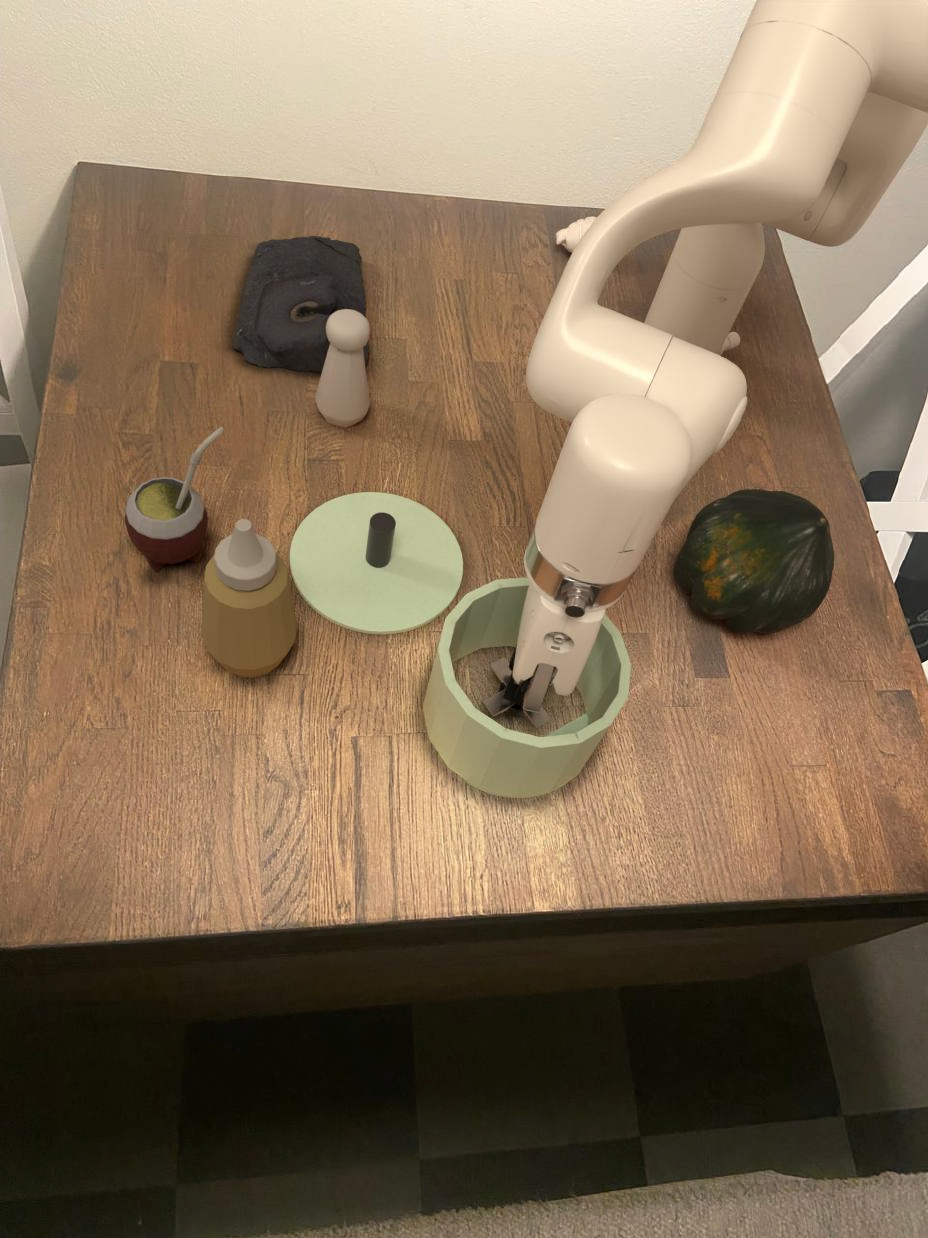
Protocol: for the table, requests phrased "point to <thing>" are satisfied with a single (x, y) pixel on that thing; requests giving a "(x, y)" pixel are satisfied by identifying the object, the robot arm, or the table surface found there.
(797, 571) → the squash
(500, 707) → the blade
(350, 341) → the salt shaker
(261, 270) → the dark slate chunk
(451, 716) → the green cylindrical sleeve
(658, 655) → the table surface
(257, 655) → the squeeze bottle
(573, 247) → the garlic bulb
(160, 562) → the mate gourd
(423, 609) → the lid
